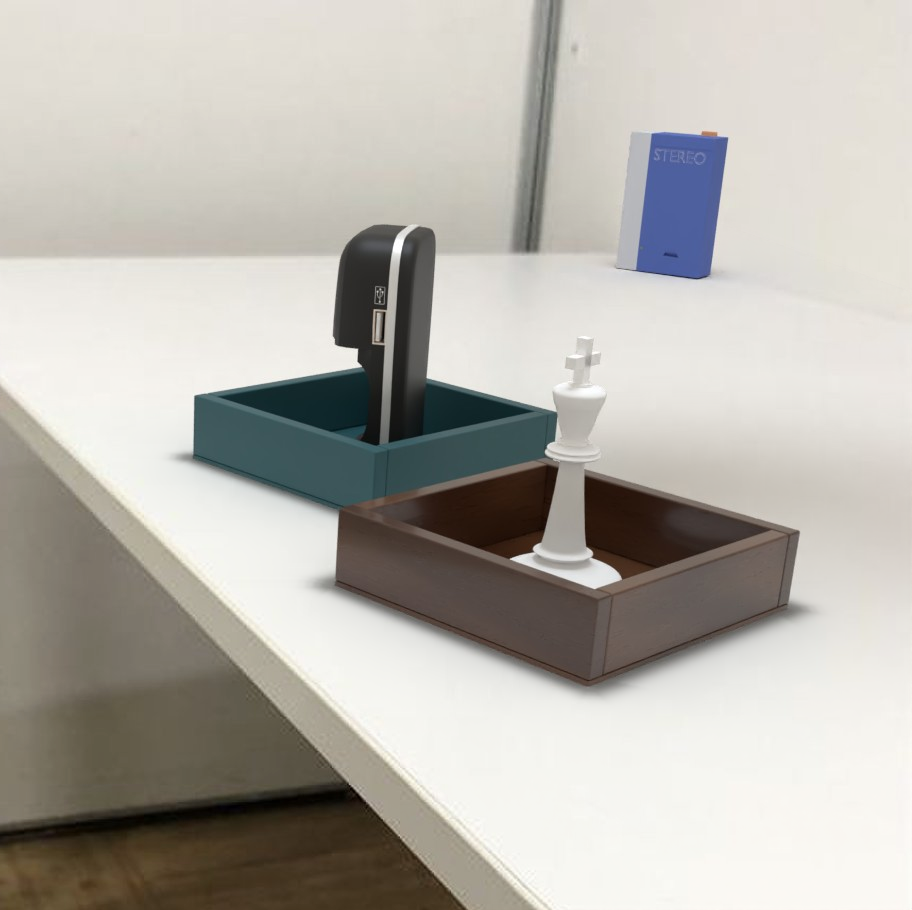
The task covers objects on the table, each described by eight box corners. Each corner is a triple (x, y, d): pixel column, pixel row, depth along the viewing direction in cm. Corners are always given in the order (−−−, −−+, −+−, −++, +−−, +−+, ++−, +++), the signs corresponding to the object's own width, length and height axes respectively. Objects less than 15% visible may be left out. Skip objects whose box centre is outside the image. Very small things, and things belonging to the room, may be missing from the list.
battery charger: (350, 442, 83) (362, 215, 79) (423, 449, 83) (439, 220, 78) (320, 478, 77) (331, 233, 73) (399, 486, 76) (415, 239, 72)
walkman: (710, 275, 142) (729, 132, 137) (697, 278, 140) (716, 134, 135) (628, 264, 146) (644, 125, 142) (614, 267, 144) (630, 127, 140)
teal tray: (371, 429, 88) (374, 364, 87) (551, 483, 80) (558, 412, 78) (192, 465, 80) (193, 395, 79) (371, 530, 72) (375, 451, 71)
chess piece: (470, 589, 63) (492, 335, 60) (541, 561, 67) (566, 319, 63) (577, 623, 60) (607, 357, 57) (646, 592, 64) (678, 340, 60)
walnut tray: (537, 535, 72) (545, 457, 71) (786, 617, 63) (801, 530, 62) (333, 594, 64) (338, 507, 63) (586, 697, 56) (598, 599, 54)
